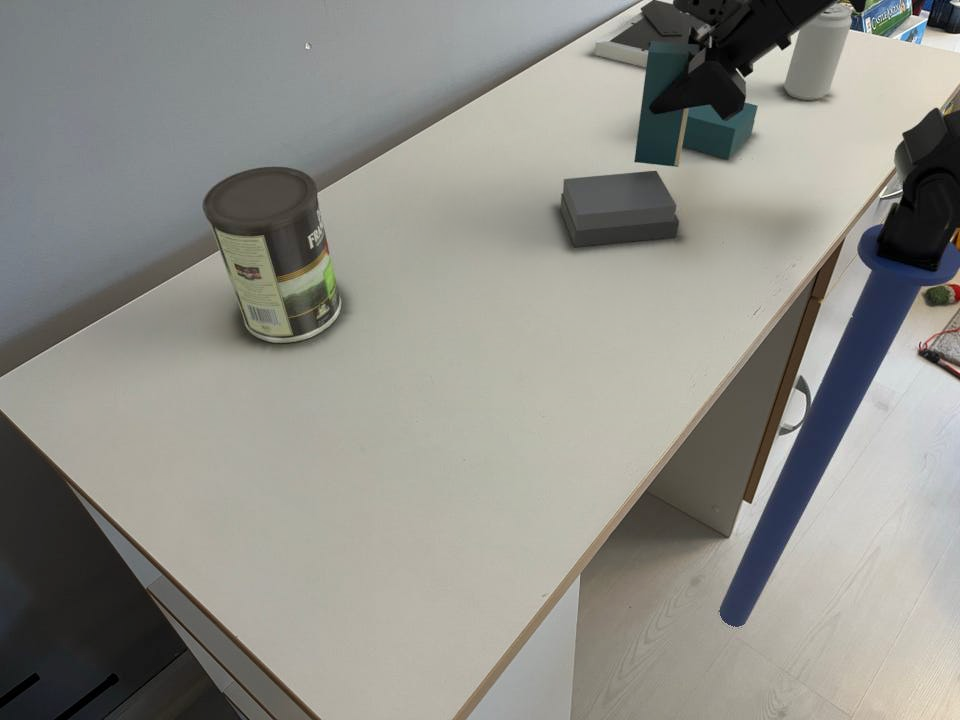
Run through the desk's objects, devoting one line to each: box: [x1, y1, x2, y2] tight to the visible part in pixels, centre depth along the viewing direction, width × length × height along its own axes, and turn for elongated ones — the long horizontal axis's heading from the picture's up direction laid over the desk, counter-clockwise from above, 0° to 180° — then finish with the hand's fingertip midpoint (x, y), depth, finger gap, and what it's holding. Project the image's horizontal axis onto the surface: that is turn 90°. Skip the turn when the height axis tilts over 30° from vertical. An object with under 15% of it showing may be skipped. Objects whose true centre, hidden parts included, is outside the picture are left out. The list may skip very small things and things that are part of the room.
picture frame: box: [594, 0, 706, 68], centre depth 121 cm, size 16×3×21 cm
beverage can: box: [783, 2, 853, 101], centre depth 103 cm, size 6×6×12 cm
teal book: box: [634, 41, 700, 168], centre depth 79 cm, size 5×3×13 cm, turn 74°
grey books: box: [560, 170, 680, 248], centre depth 83 cm, size 12×8×4 cm, turn 97°
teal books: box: [682, 102, 759, 160], centre depth 98 cm, size 12×8×4 cm
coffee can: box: [202, 166, 342, 344], centre depth 70 cm, size 10×10×14 cm
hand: (652, 104), depth 79 cm, fingers closed on teal book, 3 cm apart
